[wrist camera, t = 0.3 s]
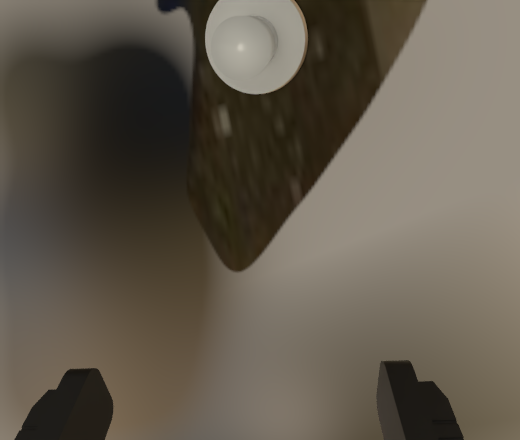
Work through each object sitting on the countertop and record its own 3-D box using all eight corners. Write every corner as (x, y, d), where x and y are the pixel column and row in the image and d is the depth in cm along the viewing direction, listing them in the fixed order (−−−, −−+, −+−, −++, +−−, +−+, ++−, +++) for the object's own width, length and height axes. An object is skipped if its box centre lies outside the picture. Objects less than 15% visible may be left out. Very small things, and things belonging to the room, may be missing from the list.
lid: (211, -21, 30) (179, -33, 22) (313, -9, 29) (313, -16, 22) (206, 85, 33) (177, 104, 26) (297, 97, 33) (293, 120, 26)
